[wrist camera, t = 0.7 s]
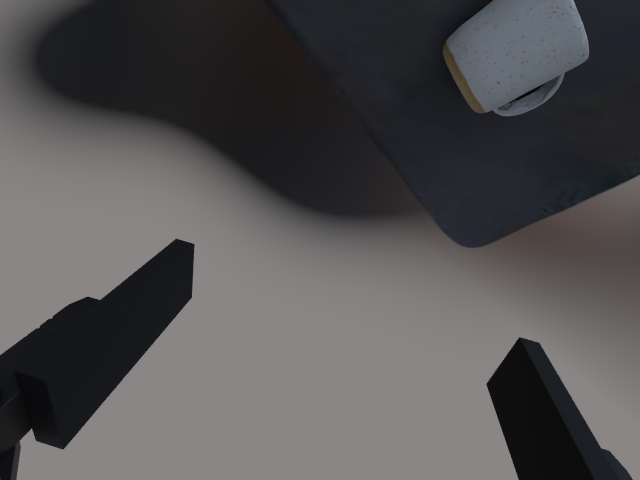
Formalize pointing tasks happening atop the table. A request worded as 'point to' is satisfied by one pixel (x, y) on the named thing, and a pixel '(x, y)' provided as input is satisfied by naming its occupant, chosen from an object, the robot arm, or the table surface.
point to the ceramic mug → (515, 53)
